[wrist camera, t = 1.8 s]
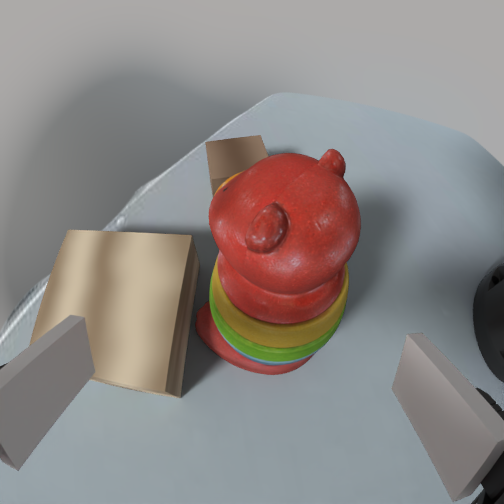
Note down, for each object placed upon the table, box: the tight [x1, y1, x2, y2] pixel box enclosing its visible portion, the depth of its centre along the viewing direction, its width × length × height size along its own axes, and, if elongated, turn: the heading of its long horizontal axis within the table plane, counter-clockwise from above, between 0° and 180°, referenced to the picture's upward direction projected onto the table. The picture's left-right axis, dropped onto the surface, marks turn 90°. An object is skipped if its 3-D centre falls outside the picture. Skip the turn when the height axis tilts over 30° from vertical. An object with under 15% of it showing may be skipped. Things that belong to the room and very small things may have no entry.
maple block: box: [29, 230, 200, 398], centre depth 25 cm, size 13×13×5 cm
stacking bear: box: [195, 149, 361, 375], centre depth 19 cm, size 11×10×18 cm
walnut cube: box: [206, 135, 268, 197], centre depth 33 cm, size 6×6×6 cm
